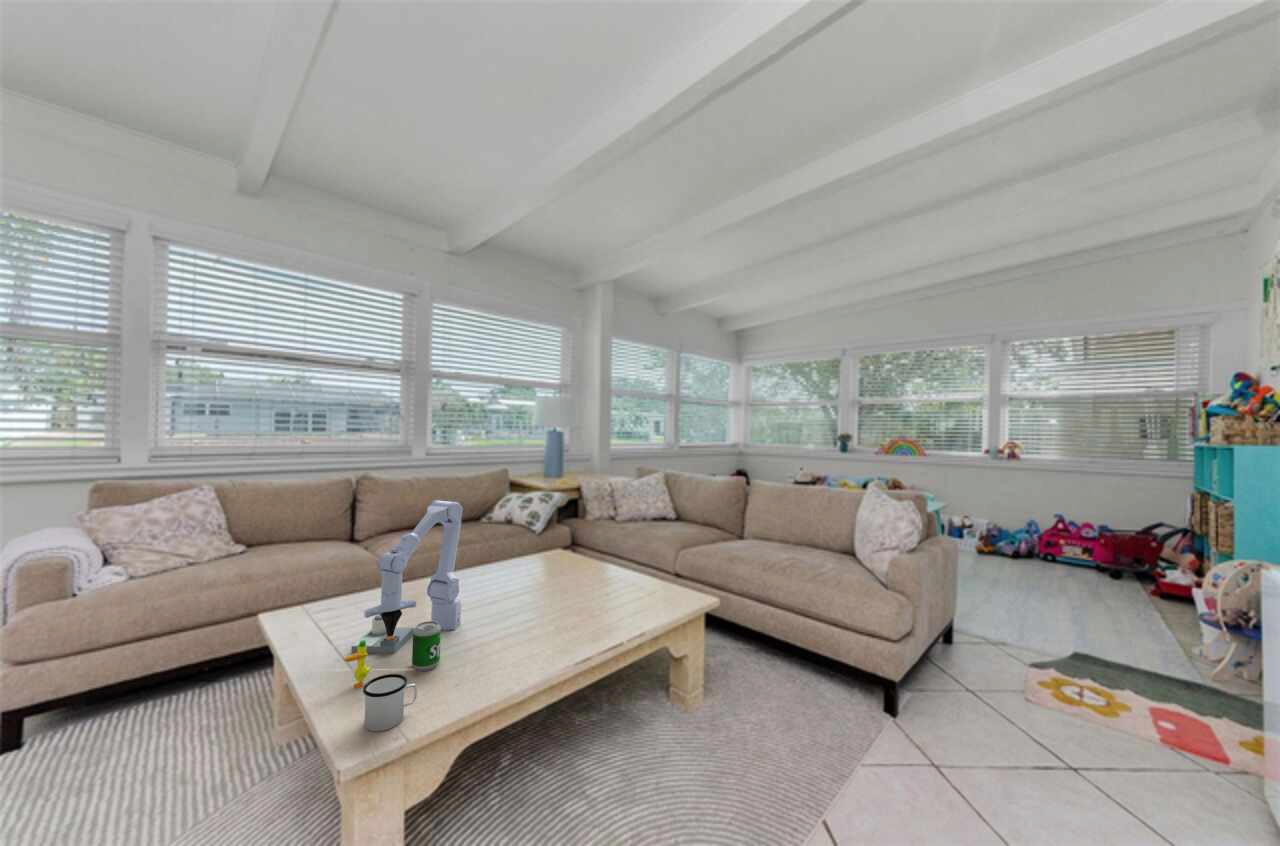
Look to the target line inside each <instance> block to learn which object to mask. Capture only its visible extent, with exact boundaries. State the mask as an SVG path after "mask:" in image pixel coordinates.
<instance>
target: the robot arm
mask: <svg viewBox="0 0 1280 846" xmlns="http://www.w3.org/2000/svg"><path fill="white" fill-rule="evenodd" d="M463 511H464V508H463V507H462V505H461V503H459V502H457V501H445V500H439V499H436V500H433V501H432V502H431V503H430V505H429V506H428V507H427V508H426V513H425V515H424V516H423V517H422V519H421V520H420V521H419V522H418V524H417V525H416V526H415V527H414V529H413V531H412V532H409V533H405V534H403V535H402V536H401V537H400V539H399V541H398V542H397V543H396V544H395V545H394V546H393V547H392V548H391V550H389V551H388V552H384V553H383V554H382V555H381V557H379V561H378V562H377V567H378V569H379V571H380V576H381V594H380V605H378V606H374V607H371V608H367V609H364V611H363V613H364V615H363V617H364V618H366V619H369V618H370V617H375V616H378V615H381V617H382V619H383V622H384V624H385V627H386V632H387V635H388V636H393V635H394V631H395V628H397V625H398V622H399V620H400V618H401V617H402V614H403V612H402V610H406V609H409V608H413V609H414V608H416V607H417V601H416V600H415V599H410V600H402V596H403V595H402V594H403V571H404V570H405V569H407V566H408V561H409V560H410V557H411V556H412V555H413V553H414V552H415V551H416V550H417V549H418V547H419V546H420V545H421V539H422V538H423V537H424V536H425V535H426V534H427V533H428V532H429V530H430V529H432V528H433V526H434V527H435V525H436V524H437V523H438V524H439V523H440V524H441V525H442V526H443V527H444V529H443V535H442V541H441V545H440V554H439V558H438V567H437V571H436V573H434V574H433V575H431V577H430V580H429V583H428V585H427V588H426V594H427V596H428V597H429V600H430V601H431V614H430V615H431V616H430V621H433V622H437V623H438V625H440V627H441V630H449V631H451V630H455V629H457V627H458V626H459V624H460V623H461V622H462V620H461V615H462V614H461V611H462V610H461V609H462V604H461V600H457V599H456V598H458V596H459V594H460V586H459V585H460V584H459V580H460V578H459V577H458V576H457V575H456V574H455V572H454V571H455V565H456V560H457V559H456V558H457V552H458V546H459V541H460V535H461V528H462V516H463Z"/></svg>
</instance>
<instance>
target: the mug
mask: <svg viewBox="0 0 1280 846" xmlns="http://www.w3.org/2000/svg"><path fill="white" fill-rule="evenodd" d="M411 687H414V690H413V691H414V694H413V699H412V700H410V701H408V702H405V690H406V689H409V688H411ZM417 687H418V686H417V684H416V683H409V684H408V678H407V677H406V675H403V674H399V673H388V674H383V675H379V676H377V677H374V678H372V679H370V680H369V681H367V682H366V683H365V684H363V686H362V693H363V694H364V695H365V700H364V720H363V721H364V723H363V724H364V725H363V726H364V728H365V729H366V730H367V731H371V732H384V731H388V730H390V729H392V728H394V727H396V726H398V724H399V725H400V723H401V722H402V721H403V719H404V716H405V715H404V713H405V712H404V711H405V707H408V706H409V705H413V704H414V703H415V702H416V700H417V693H418V691H417V689H418V688H417Z"/></svg>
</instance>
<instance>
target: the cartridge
mask: <svg viewBox="0 0 1280 846" xmlns="http://www.w3.org/2000/svg"><path fill="white" fill-rule="evenodd" d="M371 623H372V624H371V629H372V635H385V634H386V633H387V632H386V627H385V624H384V622H383V619H382V617H381V615H380V614H379V615H375V616H373V618H372V621H371Z"/></svg>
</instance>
